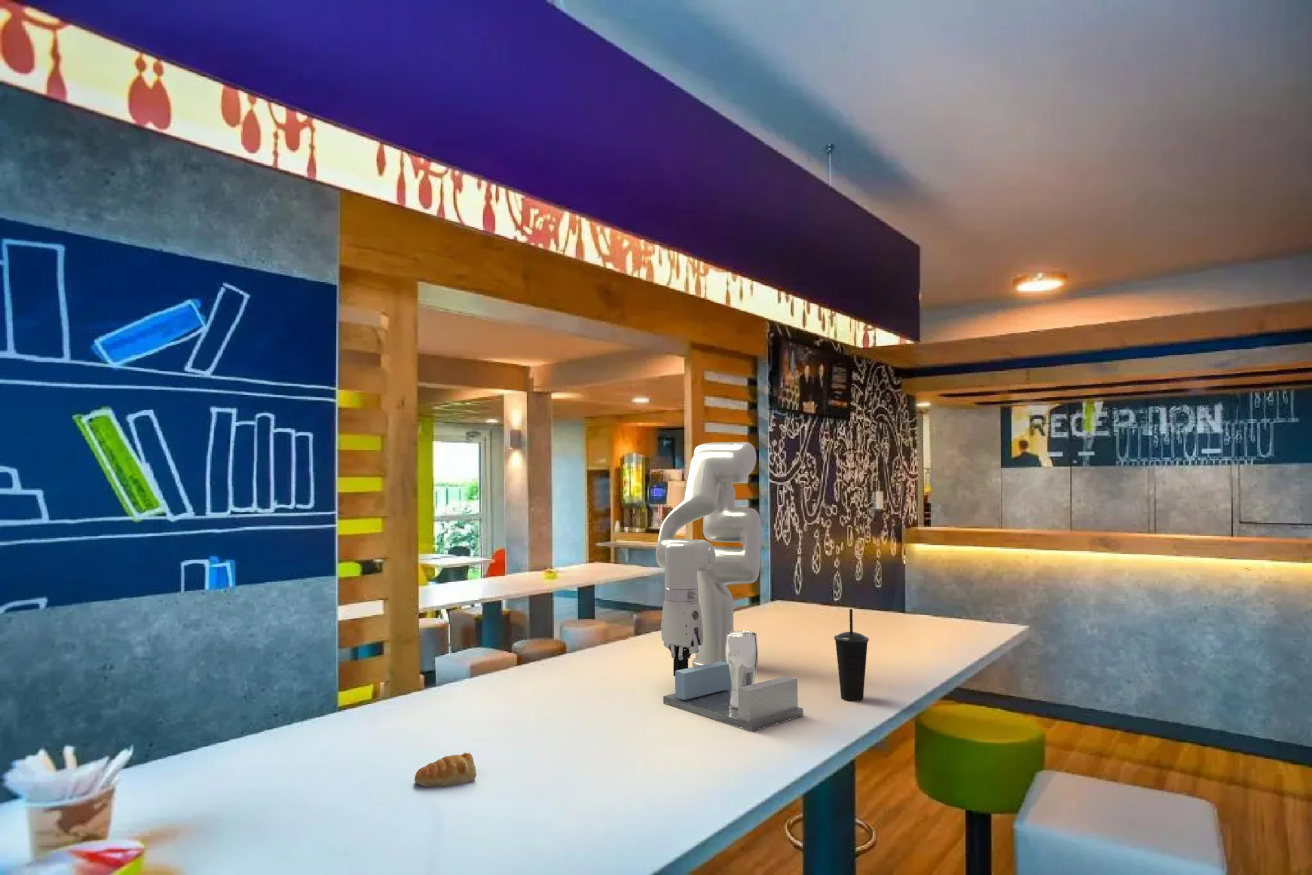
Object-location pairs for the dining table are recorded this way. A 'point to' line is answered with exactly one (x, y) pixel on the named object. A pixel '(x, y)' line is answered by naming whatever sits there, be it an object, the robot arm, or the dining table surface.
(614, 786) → the dining table surface
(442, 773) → the pastry
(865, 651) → the drinking cup
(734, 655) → the beer glass
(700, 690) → the bar
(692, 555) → the robot arm
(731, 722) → the vise base
